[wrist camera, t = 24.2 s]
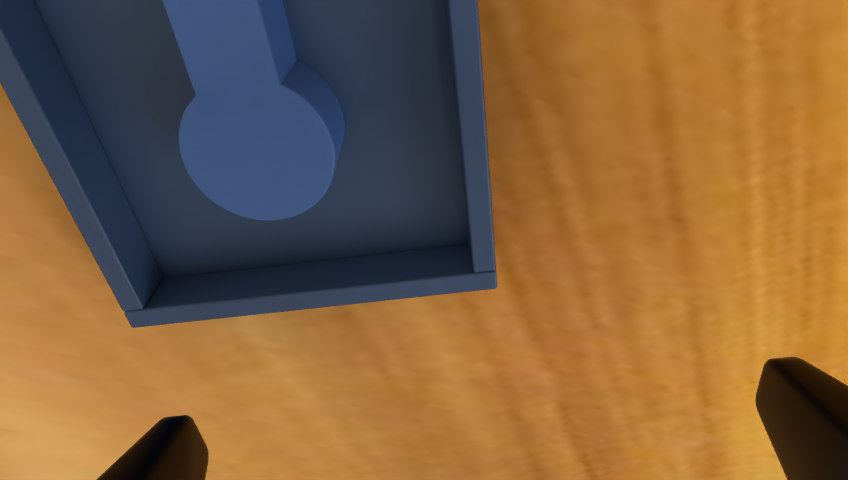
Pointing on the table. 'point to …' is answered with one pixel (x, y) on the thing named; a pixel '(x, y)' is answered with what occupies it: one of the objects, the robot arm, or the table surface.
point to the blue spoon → (253, 110)
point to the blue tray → (249, 238)
